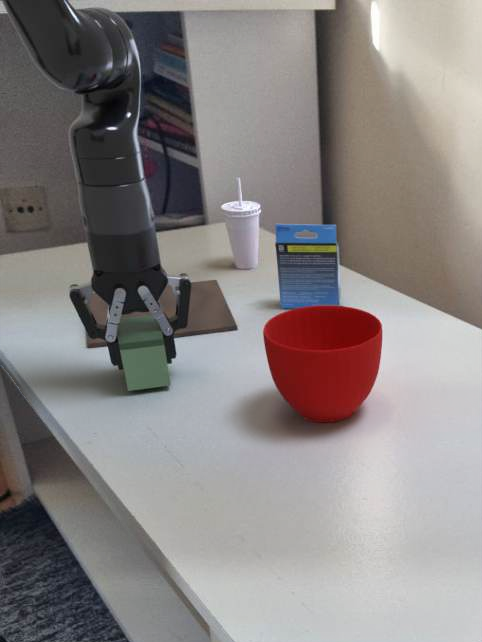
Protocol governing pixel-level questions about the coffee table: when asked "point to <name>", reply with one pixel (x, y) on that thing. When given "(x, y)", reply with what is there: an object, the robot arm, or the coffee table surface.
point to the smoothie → (243, 230)
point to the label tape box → (307, 266)
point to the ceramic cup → (324, 359)
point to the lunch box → (143, 353)
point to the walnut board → (203, 310)
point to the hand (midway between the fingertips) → (144, 363)
